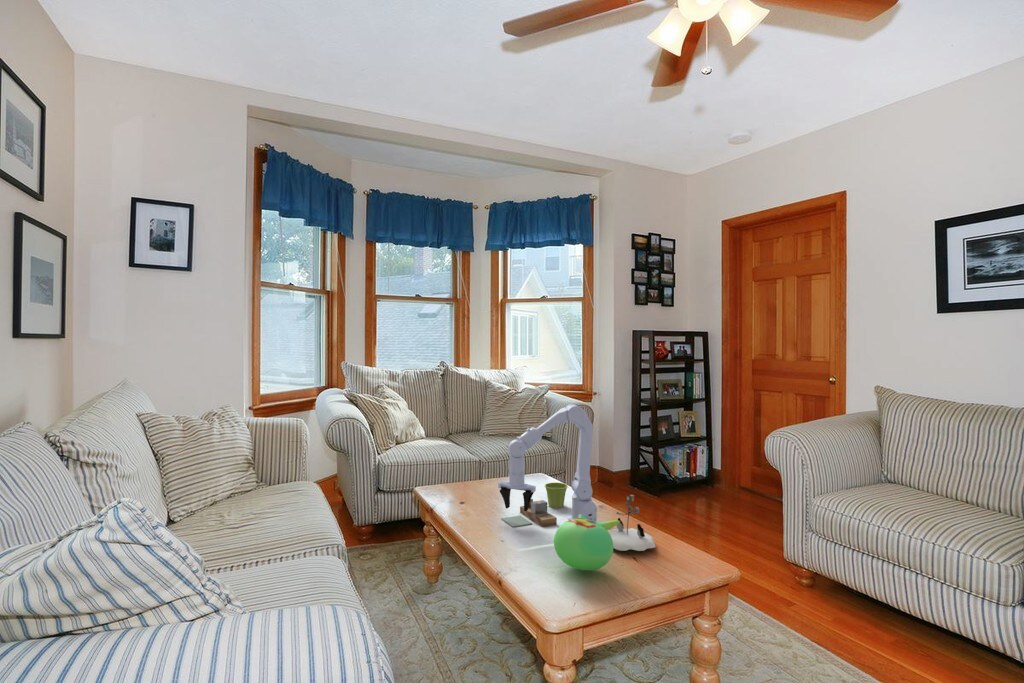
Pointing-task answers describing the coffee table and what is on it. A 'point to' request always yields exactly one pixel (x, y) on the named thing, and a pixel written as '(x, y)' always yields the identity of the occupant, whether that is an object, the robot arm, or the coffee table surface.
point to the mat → (516, 521)
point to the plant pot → (556, 494)
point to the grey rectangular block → (539, 507)
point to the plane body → (539, 516)
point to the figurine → (630, 534)
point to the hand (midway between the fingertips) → (516, 509)
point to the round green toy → (584, 543)
